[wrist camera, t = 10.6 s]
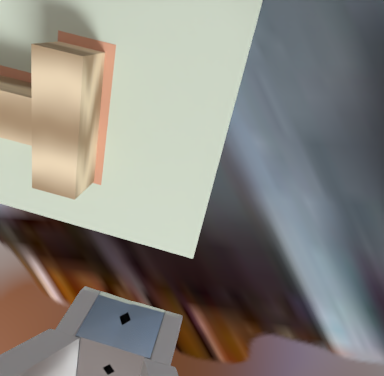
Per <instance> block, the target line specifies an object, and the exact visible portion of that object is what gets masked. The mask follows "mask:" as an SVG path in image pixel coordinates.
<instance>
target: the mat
mask: <svg viewBox="0 0 384 376" xmlns="http://www.w3.org/2000/svg"><path fill="white" fill-rule="evenodd" d="M262 1H263V0H0V75H2V76H6V77H10V78H14V79H18V80H22V81H26V82H30V83H31V44H34V43H46V42H58V41H60V42H64V43H68V44H72V45H76V46H80V47H85V48H89V49H93V50H97V51H101V52H105V61H104V72H103V84H102V96H101V108H100V119H99V131H98V143H97V154H96V166H95V178H94V182H93V183H92V184H91V185H90V186H89V187H88V188H87V189H86V190H85V191H83V192H82V193H81V194H80V195H79V196H78V197H77V198H76V199H75V200H74V199H71V198H67V197H63V196H60V195H56V194H52V193H49V192H45V191H41V190H38V189H34V188H32V146H31V145H27V144H23V143H19V142H15V141H12V140H8V139H4V138H0V204H4V205H7V206H11V207H14V208H18V209H21V210H25V211H28V212H32V213H35V214H39V215H42V216H46V217H49V218H52V219H56V220H59V221H63V222H66V223H70V224H73V225H77V226H80V227H84V228H87V229H91V230H94V231H98V232H101V233H105V234H108V235H112V236H115V237H119V238H122V239H126V240H129V241H133V242H136V243H140V244H143V245H147V246H150V247H154V248H157V249H161V250H164V251H167V252H171V253H174V254H178V255H181V256H185V257H188V258H192V259H193V257H194V253H195V249H196V246H197V242H198V238H199V234H200V231H201V227H202V223H203V220H204V216H205V212H206V209H207V205H208V201H209V197H210V194H211V190H212V186H213V183H214V179H215V175H216V172H217V168H218V164H219V160H220V157H221V153H222V149H223V146H224V142H225V138H226V135H227V131H228V127H229V123H230V120H231V116H232V112H233V109H234V105H235V101H236V98H237V94H238V90H239V86H240V83H241V79H242V75H243V72H244V68H245V64H246V61H247V57H248V53H249V49H250V46H251V42H252V38H253V35H254V31H255V27H256V24H257V20H258V16H259V12H260V9H261V5H262Z"/></svg>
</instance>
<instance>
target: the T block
mask: <svg viewBox="0 0 384 376" xmlns="http://www.w3.org/2000/svg"><path fill="white" fill-rule="evenodd" d="M104 61H105V52H101V51H97V50H93V49H89V48H85V47H80V46H76V45H72V44H68V43H64V42H60V41H58V42H46V43H34V44H31V83H30V82H26V81H22V80H18V79H14V78H10V77H6V76H2V75H0V138H4V139H8V140H12V141H15V142H19V143H23V144H27V145H31V146H32V188H34V189H38V190H41V191H45V192H49V193H52V194H56V195H60V196H63V197H67V198H71V199H74V200H75V199H76V198H77V197H78V196H79V195H80V194H81V193H82V192H83V191H85V190H86V189H87V188H88V187H89V186H90V185H91V184H92V183H93V182H94V178H95V166H96V154H97V143H98V131H99V119H100V108H101V96H102V84H103V72H104Z"/></svg>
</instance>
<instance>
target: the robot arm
mask: <svg viewBox="0 0 384 376" xmlns="http://www.w3.org/2000/svg"><path fill="white" fill-rule="evenodd" d="M181 322H182V315H178V314H175V313H171V312H168V311H166V312H165V310H162V309H158V308H155V307H151V306H148V305H144V304H141V303H137V302H132V301H129V300H126V299H123V298H120V297H117V296H114V295H111V294H108V293H105V292H101V291H98V290H95V289H92V288H89V287H86V286H85V287H84V288H83V289H82V290H81V291H80V292H79V294H78V295H77V297H76V298H75V300H74V302H73V303H72V305H71V306H70V308H69V309H68V311H67V312H66V314H65V315H64V317H63V318H62V320H61V322H60V323H59V325H58V326H57V328H56V329H55V330H53V329H49V330H47V331H44V332H43V333H41V334H39V335H37V336H35V337H33V338H31V339H29V340H27V341H26V342H24V343H22V344H20V345H18V346H16V347H14V348H12V349H10V350H9V351H7V352H5V353H3V354H1V355H0V376H178V373H177V370H176V368H175V367H173V366H170V365H171V362H172V357H173V354H174V350H175V346H176V342H177V338H178V334H179V330H180V326H181Z"/></svg>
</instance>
